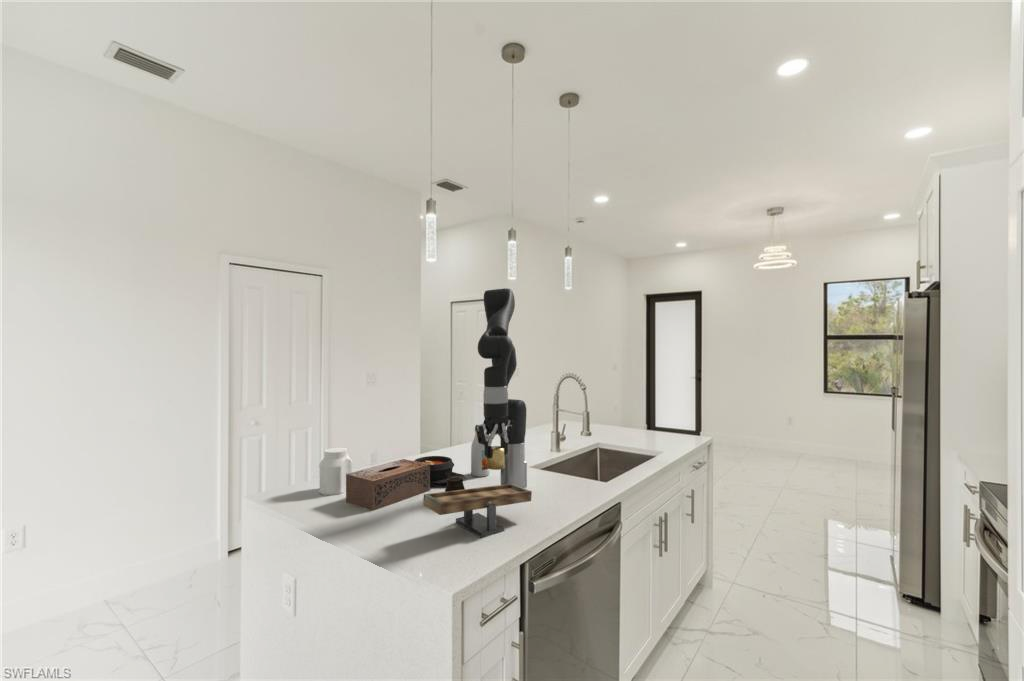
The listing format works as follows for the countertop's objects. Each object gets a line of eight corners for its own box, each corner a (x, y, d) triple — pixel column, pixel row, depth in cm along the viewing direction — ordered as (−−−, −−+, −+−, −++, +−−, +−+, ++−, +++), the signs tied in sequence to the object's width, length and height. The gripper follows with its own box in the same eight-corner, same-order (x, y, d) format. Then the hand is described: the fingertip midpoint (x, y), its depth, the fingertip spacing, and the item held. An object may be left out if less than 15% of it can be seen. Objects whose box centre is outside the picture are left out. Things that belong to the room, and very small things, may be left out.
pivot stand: (477, 516, 146) (477, 491, 146) (504, 530, 135) (504, 503, 135) (455, 522, 141) (455, 496, 141) (481, 537, 130) (481, 509, 130)
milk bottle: (475, 478, 188) (475, 428, 189) (468, 473, 195) (468, 425, 195) (492, 475, 192) (492, 427, 192) (485, 471, 199) (485, 424, 199)
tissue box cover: (403, 484, 181) (403, 458, 181) (430, 491, 173) (429, 464, 173) (346, 503, 160) (346, 474, 160) (373, 511, 151) (373, 481, 152)
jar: (335, 496, 166) (335, 454, 166) (314, 493, 170) (314, 452, 170) (356, 486, 177) (356, 447, 177) (336, 484, 180) (336, 445, 181)
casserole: (471, 477, 190) (470, 456, 190) (451, 491, 172) (451, 468, 172) (416, 472, 197) (416, 452, 197) (392, 485, 179) (392, 463, 179)
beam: (511, 492, 152) (511, 483, 152) (531, 501, 144) (532, 491, 144) (422, 504, 133) (423, 494, 133) (440, 515, 124) (441, 503, 125)
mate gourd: (462, 505, 156) (461, 475, 156) (440, 504, 158) (440, 475, 158) (468, 498, 163) (467, 470, 163) (447, 497, 165) (447, 469, 165)
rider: (498, 464, 146) (497, 445, 146) (507, 467, 142) (507, 448, 142) (485, 467, 143) (484, 447, 143) (494, 470, 139) (494, 450, 139)
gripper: (507, 397, 149) (507, 450, 150) (469, 401, 141) (469, 457, 141) (521, 400, 144) (522, 454, 144) (483, 404, 135) (483, 462, 135)
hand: (496, 456), depth 142 cm, fingers closed on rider, 5 cm apart
